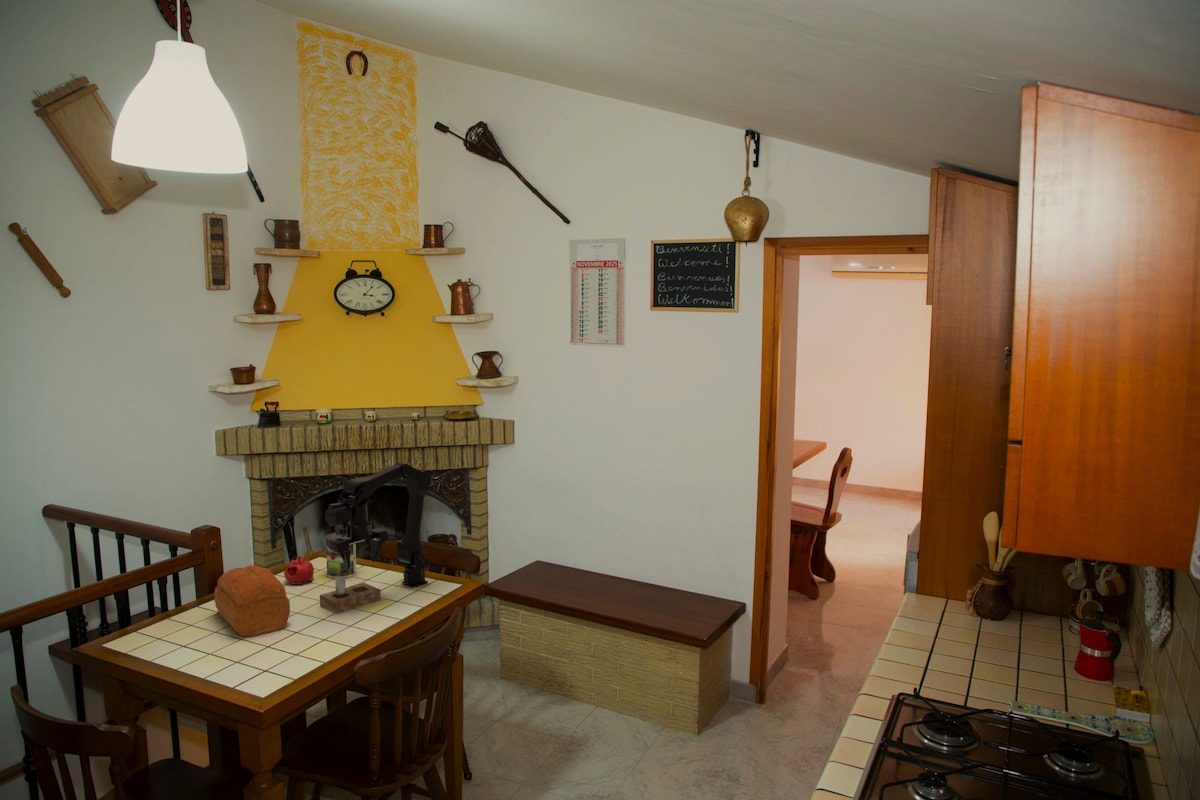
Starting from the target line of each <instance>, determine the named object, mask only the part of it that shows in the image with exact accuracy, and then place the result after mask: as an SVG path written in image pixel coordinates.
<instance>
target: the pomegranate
mask: <svg viewBox="0 0 1200 800" xmlns="http://www.w3.org/2000/svg"><path fill="white" fill-rule="evenodd" d="M301 557H302V556H301V555H297V557H296V560H294V559H289V560H288V562H290V563H289V564H288V566H287V568H285V570H283V574H284V578H285V580H286V581H287V582H288V583H290V584H292V585H303V584H306V583H309V582H311V581H312V580H313V578H314V571H315V568H314V565H313V563H312V562H311V561H312V559H305V557H302V558H301ZM304 559H305V560H304Z"/></svg>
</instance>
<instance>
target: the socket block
mask: <svg viewBox="0 0 1200 800" xmlns="http://www.w3.org/2000/svg"><path fill="white" fill-rule="evenodd" d="M345 591H346V597H343V598H339V599H337V598H336V590H333V591H329V592H326V593H323V594H319V606H320V607H322V608H324V609H327V610H328V611H331V612H333V614H340V613H344V612H346V611H350V610H353V609H356V608H360V607H363V606H366V605H369V604H372V603H376V602H378V601H382V595H381V593H382V591H381V589H380V588H377V587H375V586H373V585H371V584H368V583H365V582H360V583H358V584H356V583H355V584H353V585H350V586H345Z"/></svg>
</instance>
